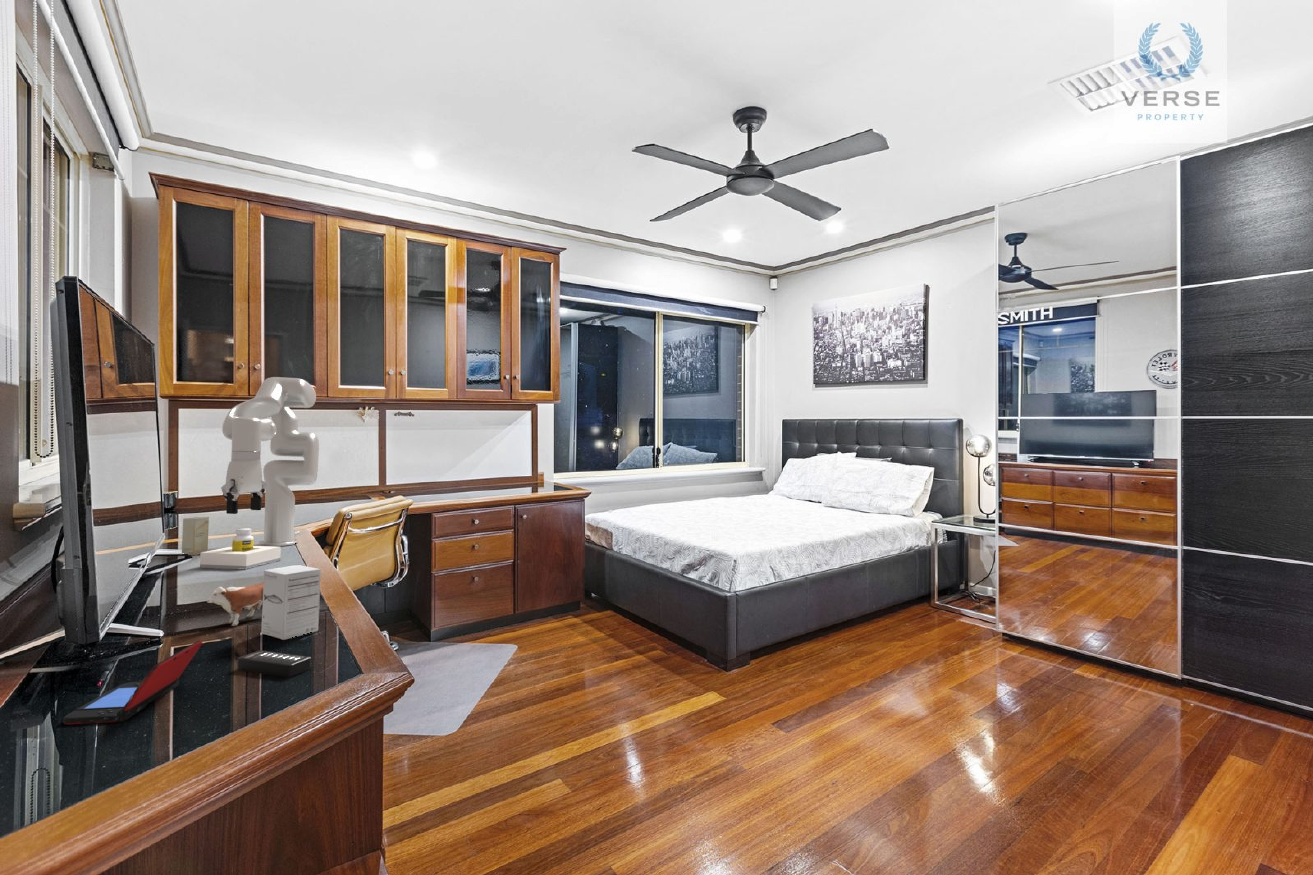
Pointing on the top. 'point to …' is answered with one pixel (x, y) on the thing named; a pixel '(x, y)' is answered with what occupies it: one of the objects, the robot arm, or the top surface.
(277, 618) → the supplement box
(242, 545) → the supplement bottle
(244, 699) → the top surface
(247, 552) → the sleeve holder
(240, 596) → the bull figurine
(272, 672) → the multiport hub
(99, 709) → the handheld game console
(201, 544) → the skincare box
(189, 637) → the top surface
